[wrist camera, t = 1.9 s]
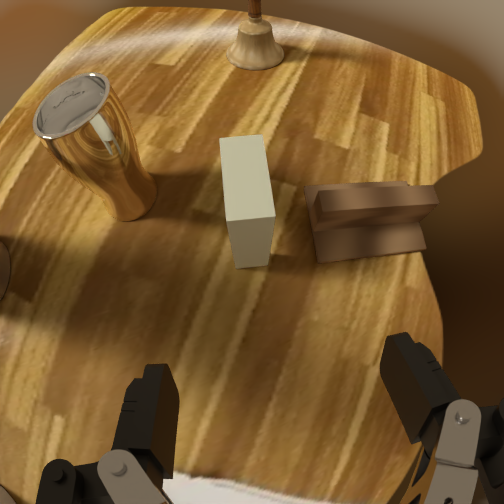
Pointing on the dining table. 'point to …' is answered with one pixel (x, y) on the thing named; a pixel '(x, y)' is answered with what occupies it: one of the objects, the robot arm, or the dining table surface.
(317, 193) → the walnut rail
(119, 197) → the beer glass
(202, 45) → the dining table surface
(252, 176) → the pale slotted block
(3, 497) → the utensil holder
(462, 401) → the robot arm
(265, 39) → the hand bell
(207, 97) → the dining table surface
